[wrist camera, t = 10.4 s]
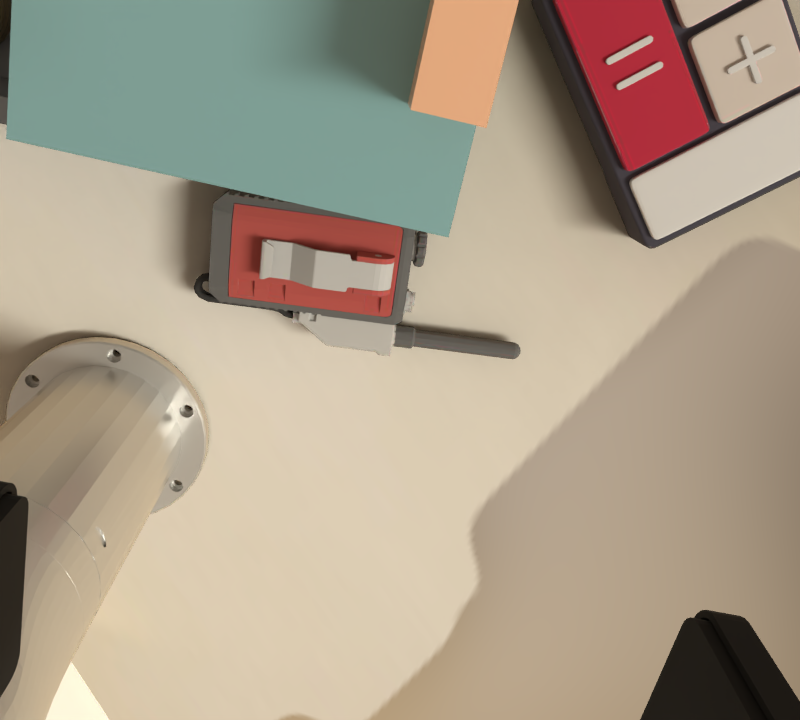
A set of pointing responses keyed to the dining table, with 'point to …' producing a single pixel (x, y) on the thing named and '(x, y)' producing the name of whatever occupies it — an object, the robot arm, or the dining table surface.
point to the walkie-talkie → (324, 274)
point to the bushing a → (5, 18)
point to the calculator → (682, 102)
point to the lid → (268, 94)
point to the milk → (74, 700)
